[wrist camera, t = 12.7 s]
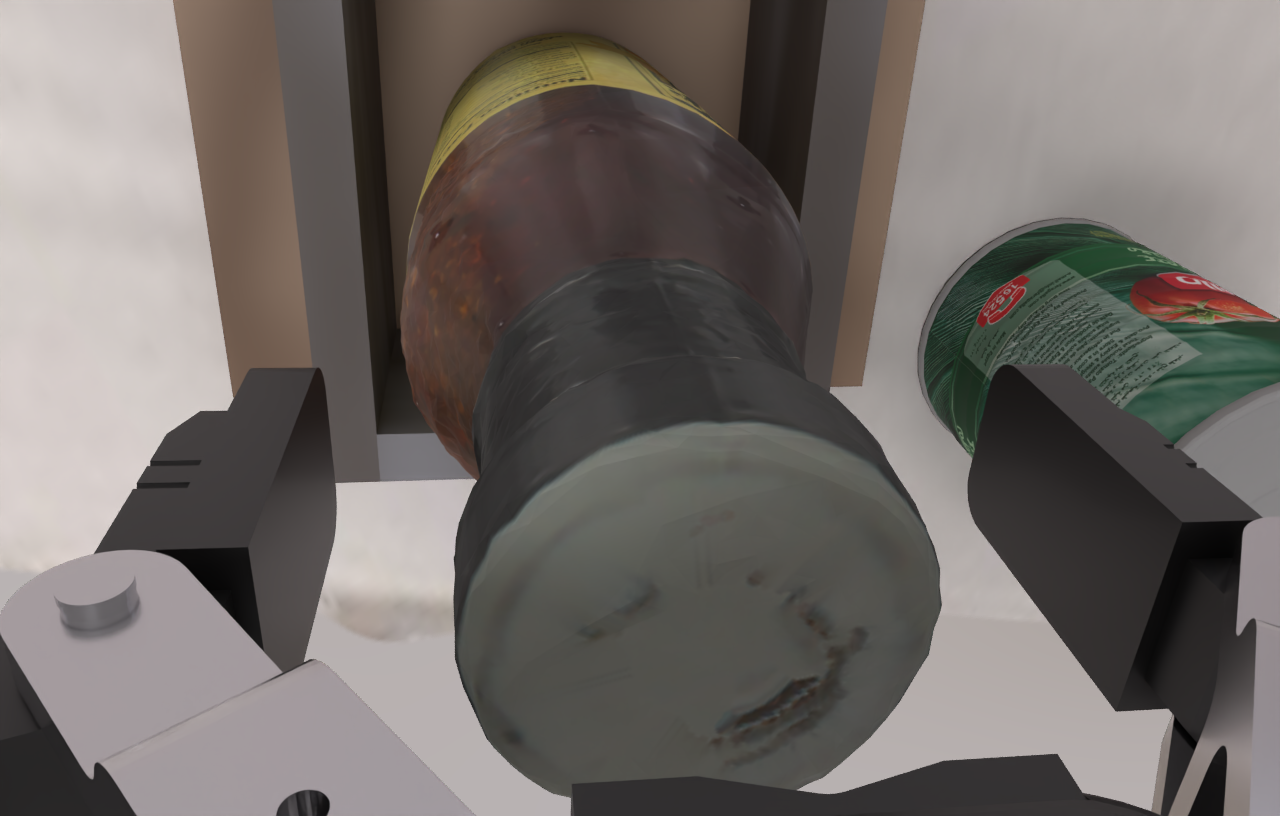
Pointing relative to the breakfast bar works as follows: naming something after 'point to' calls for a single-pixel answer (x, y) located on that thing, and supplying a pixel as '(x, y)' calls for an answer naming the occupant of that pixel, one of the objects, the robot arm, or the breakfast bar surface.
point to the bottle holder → (407, 134)
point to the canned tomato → (1114, 345)
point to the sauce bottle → (647, 441)
